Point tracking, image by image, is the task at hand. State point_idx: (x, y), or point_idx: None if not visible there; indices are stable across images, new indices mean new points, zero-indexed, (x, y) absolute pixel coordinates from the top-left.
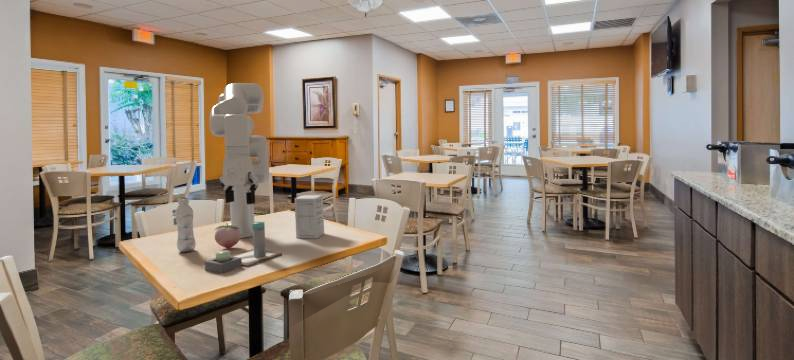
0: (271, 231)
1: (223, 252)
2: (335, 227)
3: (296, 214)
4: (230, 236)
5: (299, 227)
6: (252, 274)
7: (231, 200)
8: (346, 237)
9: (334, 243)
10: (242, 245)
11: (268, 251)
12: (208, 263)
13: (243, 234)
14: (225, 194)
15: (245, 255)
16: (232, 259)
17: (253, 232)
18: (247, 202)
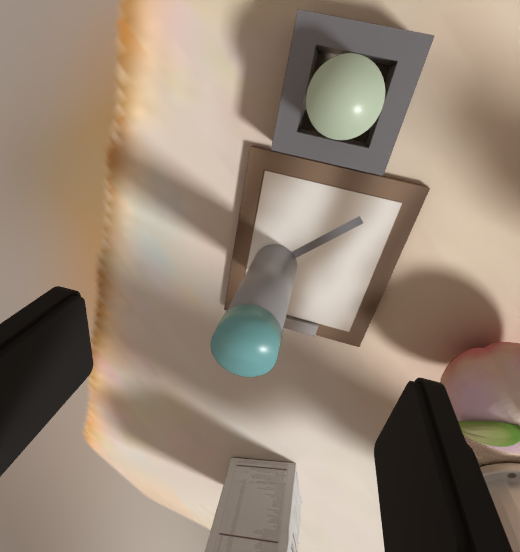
0: None
1: (336, 94)
2: None
3: (281, 550)
4: (473, 370)
5: (278, 496)
6: (171, 63)
7: (389, 433)
8: (164, 464)
9: (157, 419)
10: None
11: None
12: (400, 30)
13: (496, 482)
14: (479, 492)
15: (340, 265)
16: (297, 115)
17: (266, 300)
18: (49, 295)
